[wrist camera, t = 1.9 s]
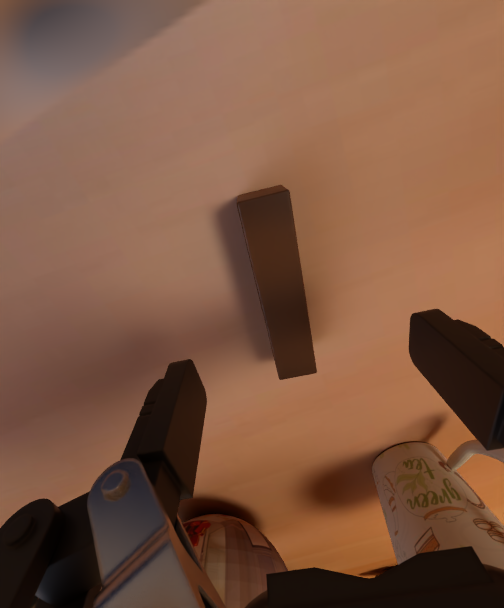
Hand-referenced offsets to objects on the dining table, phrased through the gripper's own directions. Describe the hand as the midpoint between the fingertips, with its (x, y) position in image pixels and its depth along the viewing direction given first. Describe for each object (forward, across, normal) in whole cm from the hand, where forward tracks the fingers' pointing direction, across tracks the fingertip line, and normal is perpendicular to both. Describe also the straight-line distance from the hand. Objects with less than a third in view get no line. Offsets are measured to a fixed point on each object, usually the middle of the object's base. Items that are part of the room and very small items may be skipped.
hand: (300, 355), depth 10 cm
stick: (+6, 0, 0) cm, 6 cm away
